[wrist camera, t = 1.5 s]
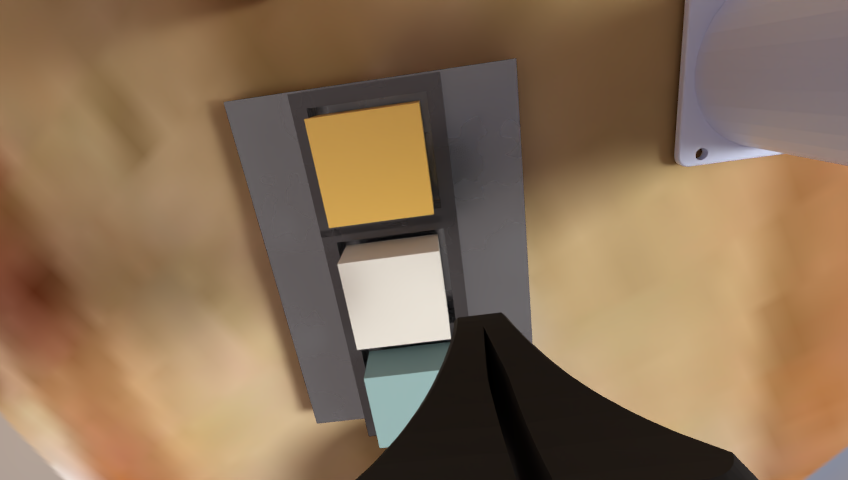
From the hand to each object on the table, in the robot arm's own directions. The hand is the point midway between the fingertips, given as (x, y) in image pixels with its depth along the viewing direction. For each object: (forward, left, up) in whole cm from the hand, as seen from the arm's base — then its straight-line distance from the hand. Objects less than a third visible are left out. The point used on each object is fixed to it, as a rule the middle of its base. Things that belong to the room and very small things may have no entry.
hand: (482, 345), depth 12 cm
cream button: (+3, +1, -7) cm, 8 cm away
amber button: (+3, -4, -7) cm, 9 cm away
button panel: (+3, +1, -9) cm, 10 cm away
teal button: (+3, +7, -7) cm, 10 cm away
